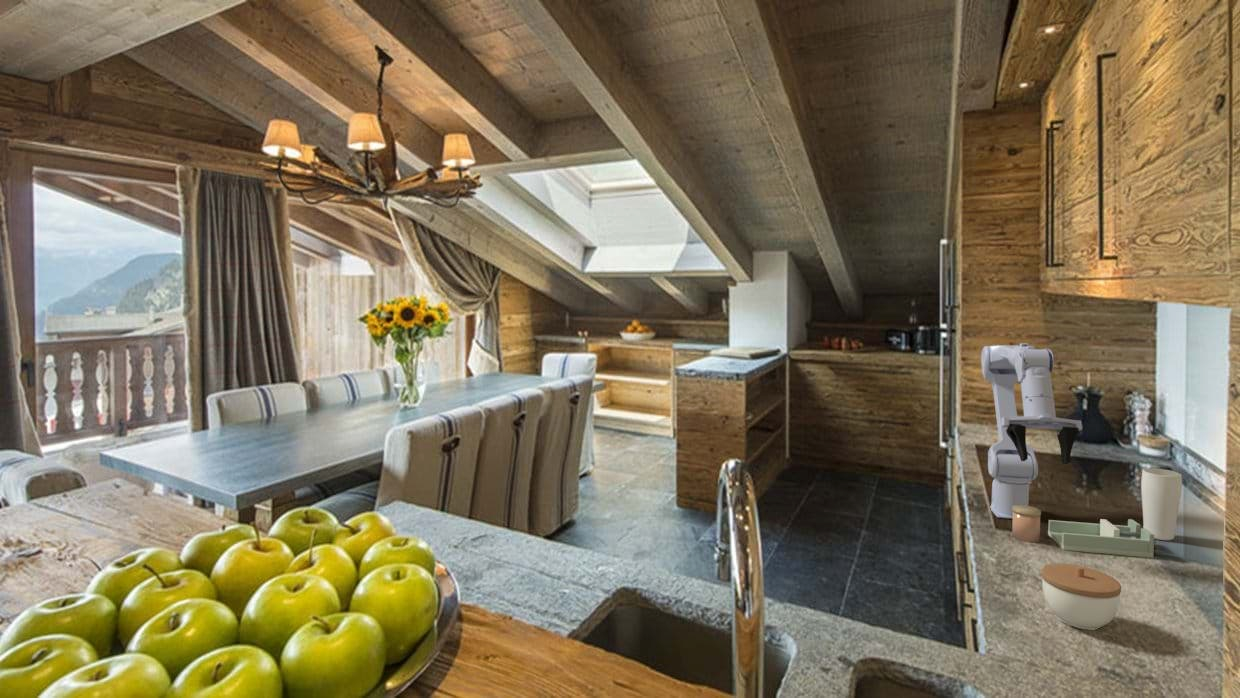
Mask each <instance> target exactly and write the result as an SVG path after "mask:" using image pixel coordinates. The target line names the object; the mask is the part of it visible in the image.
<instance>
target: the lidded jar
mask: <svg viewBox="0 0 1240 698" xmlns="http://www.w3.org/2000/svg"><path fill="white" fill-rule="evenodd" d="M1040 571H1041V588H1042V594H1043V598H1044V600H1045V603H1046V605H1047V606H1048V608H1049V609H1050V611H1051V612H1052V613H1053V614H1054V615H1055V616H1056V618H1057V619H1058V620H1059V621H1060V622H1061V621H1062V623H1063V622H1064V623H1063V624H1065V623H1066V624H1065V625H1067V624H1068V625H1067V626H1069V625H1071V626H1070V627H1072V626H1074V627H1073V628H1075V627H1078V628H1083V629H1098V628H1100V627H1101V628H1102V627H1103V626H1105V625H1107V624H1110V623H1111V621H1113V619H1114V618H1115V617H1116V615H1117V614H1118V613H1117V612H1118V610H1119V605H1120V601H1121V600H1120V599H1121V592H1122V585H1121V583H1120V581H1118V580H1117V579H1115V578H1114V577H1113V576H1111V575H1109V574H1107V573H1105V572H1102V571H1099V570H1096V569H1094V568H1090V567H1087V566H1082V565H1078V564H1077V565H1076V564H1072V563H1071V564H1070V563H1051V564H1047V565H1044V566H1043V567H1042V568H1041V570H1040ZM1078 628H1077V629H1078ZM1101 628H1100V629H1101ZM1083 629H1082V630H1083ZM1098 630H1099V629H1098Z"/></svg>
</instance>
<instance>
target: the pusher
mask: <svg viewBox="0 0 1240 698" xmlns="http://www.w3.org/2000/svg"><path fill="white" fill-rule="evenodd" d="M1099 524H1100V536H1111V537H1119V536H1130V537H1140V538H1141V532H1140V533H1139V532H1126V531H1120V530H1119V529H1118V528H1116V527H1115V526H1114V525H1115V524H1112V523H1111V522H1110V521H1108V519H1106V518H1105V519H1104V518H1100V521H1099Z"/></svg>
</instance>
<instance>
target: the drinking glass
mask: <svg viewBox="0 0 1240 698" xmlns="http://www.w3.org/2000/svg"><path fill="white" fill-rule="evenodd" d="M1141 472H1142V473H1141V479H1140V480H1141V481H1140V482H1141V483H1140V484H1141V485H1140V491H1141V493H1140V494H1141V506H1142V508H1141V509H1142V522H1143V525H1142V528H1145V529H1147V530H1148V531H1150V532H1151V533H1153V534H1154V540H1159V541H1173V540H1174V539H1175V537H1176V536H1175V535H1176V527H1177V522H1178V521H1177V520H1178V514H1179V508H1180V504H1181V503H1180V502H1181V497H1182V489H1183V478H1182V477H1183V475H1182V474H1181V473H1179V472H1177V471H1173V470H1169V469H1163V468H1153V467H1151V468H1143V469H1142V471H1141Z"/></svg>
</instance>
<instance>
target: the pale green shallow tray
mask: <svg viewBox="0 0 1240 698" xmlns="http://www.w3.org/2000/svg"><path fill="white" fill-rule="evenodd" d="M1113 525H1114V526H1115V527H1116V528H1118V529H1119V530H1120V531H1126V532H1139V533H1141V537H1130V536H1119V537H1111V536H1100V523H1092V522H1079V521H1066V520H1054V519H1048V529H1047V535H1048V536H1049V537H1050V538H1051V539H1052V540H1053V541H1054V542H1055V543H1056V544H1057V545H1058V546H1059V547H1060V548H1061V549H1062V550H1064V551H1073V552H1084V553H1085V552H1086V553H1093V554H1095V553H1096V554H1104V555H1105V554H1108V555H1118V556H1127V557H1128V556H1130V557H1138V558H1139V557H1141V558H1151V559H1154V556H1155V555H1154V550H1155V549H1154V548H1155V539H1154V534H1153V533H1151V532H1150V531H1148V530H1147V529H1145V528H1143V527H1141V524H1140V523H1138V522H1137V521H1135V520H1134V519H1132V518H1129V519H1127V525H1120V524H1119V525H1118V524H1113Z"/></svg>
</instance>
